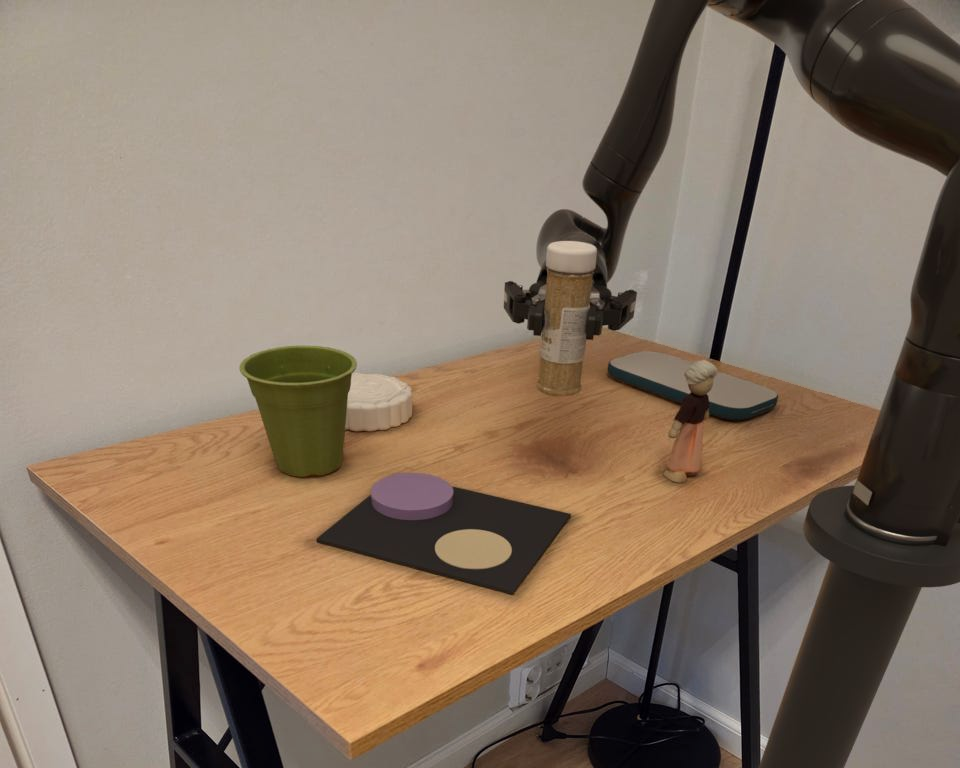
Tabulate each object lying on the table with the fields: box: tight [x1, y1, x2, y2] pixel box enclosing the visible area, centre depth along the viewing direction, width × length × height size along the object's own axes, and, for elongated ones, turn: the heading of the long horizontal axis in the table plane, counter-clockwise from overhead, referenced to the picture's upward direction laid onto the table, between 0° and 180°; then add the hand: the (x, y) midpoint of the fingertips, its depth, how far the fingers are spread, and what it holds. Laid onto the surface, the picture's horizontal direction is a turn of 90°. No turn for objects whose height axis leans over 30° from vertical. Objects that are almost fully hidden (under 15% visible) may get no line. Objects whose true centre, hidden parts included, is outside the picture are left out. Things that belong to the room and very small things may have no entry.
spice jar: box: [536, 241, 597, 397], centre depth 78 cm, size 5×5×14 cm
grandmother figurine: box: [663, 359, 718, 484], centre depth 89 cm, size 8×4×13 cm, turn 151°
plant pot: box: [239, 345, 358, 478], centre depth 87 cm, size 12×12×11 cm
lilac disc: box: [370, 472, 454, 520], centre depth 83 cm, size 8×8×1 cm
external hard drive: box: [607, 350, 779, 421], centre depth 113 cm, size 24×12×2 cm, turn 41°
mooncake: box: [345, 372, 413, 433], centre depth 102 cm, size 12×12×4 cm
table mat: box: [315, 485, 572, 596], centre depth 80 cm, size 20×16×1 cm
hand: (564, 326), depth 76 cm, fingers closed on spice jar, 4 cm apart
